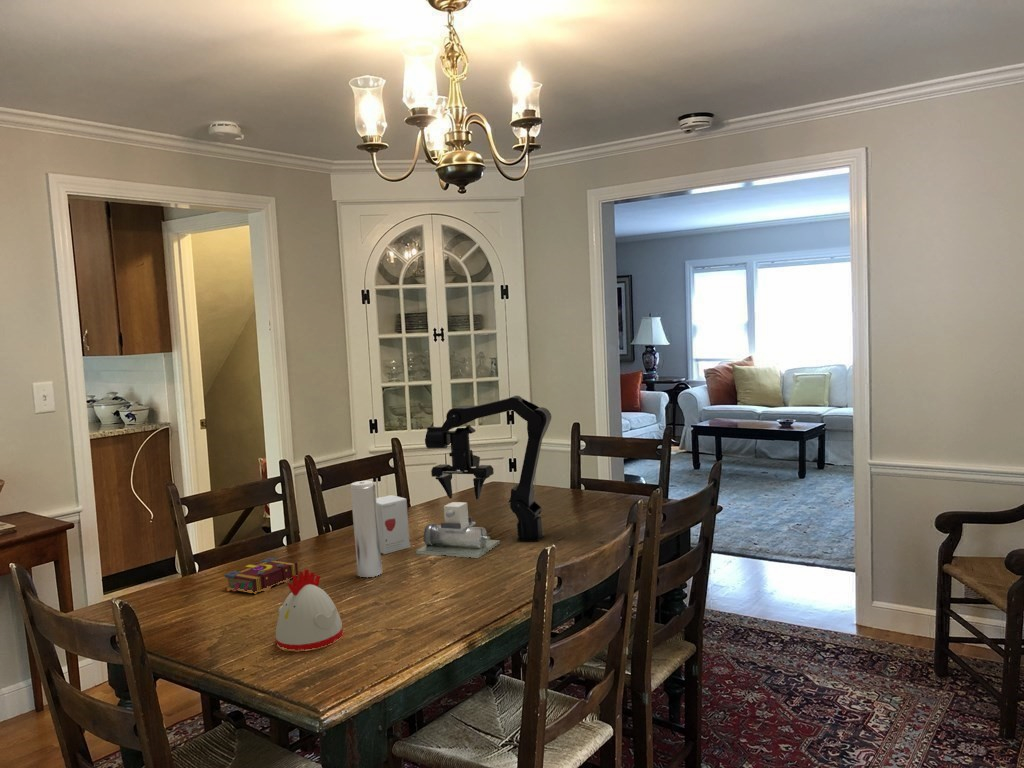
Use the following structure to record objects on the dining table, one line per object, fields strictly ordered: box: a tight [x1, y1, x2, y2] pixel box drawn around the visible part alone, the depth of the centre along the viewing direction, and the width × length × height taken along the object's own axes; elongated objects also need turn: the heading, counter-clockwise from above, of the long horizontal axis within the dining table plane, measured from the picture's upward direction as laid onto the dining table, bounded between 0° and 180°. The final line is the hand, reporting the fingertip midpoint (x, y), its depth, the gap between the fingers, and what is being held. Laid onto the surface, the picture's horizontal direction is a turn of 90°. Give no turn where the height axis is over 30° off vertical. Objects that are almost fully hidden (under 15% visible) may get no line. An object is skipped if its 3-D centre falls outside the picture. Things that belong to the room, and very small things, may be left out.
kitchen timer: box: [275, 568, 344, 650], centre depth 167 cm, size 14×14×15 cm
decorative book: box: [224, 557, 299, 592], centre depth 206 cm, size 11×16×5 cm
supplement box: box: [376, 494, 411, 555], centre depth 231 cm, size 9×9×15 cm
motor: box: [415, 516, 501, 559], centre depth 226 cm, size 20×14×8 cm
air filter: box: [350, 480, 383, 579], centre depth 208 cm, size 6×6×25 cm
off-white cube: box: [443, 501, 469, 527], centre depth 225 cm, size 5×7×6 cm
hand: (464, 498), depth 237 cm, fingers open, 9 cm apart
